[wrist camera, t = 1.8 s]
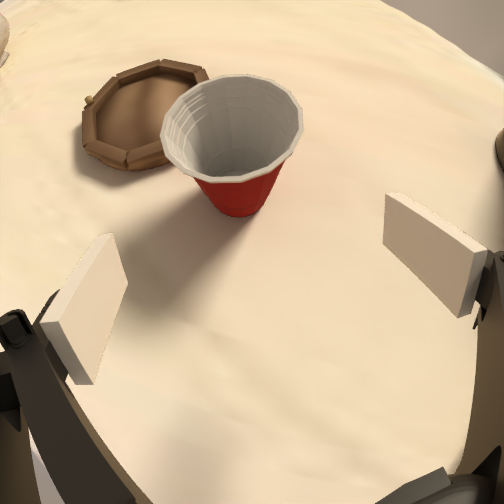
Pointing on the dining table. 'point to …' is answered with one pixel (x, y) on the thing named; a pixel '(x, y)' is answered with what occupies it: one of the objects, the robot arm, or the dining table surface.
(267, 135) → the plastic cup
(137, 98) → the octagonal wooden tray
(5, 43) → the ceramic pitcher
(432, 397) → the dining table surface
